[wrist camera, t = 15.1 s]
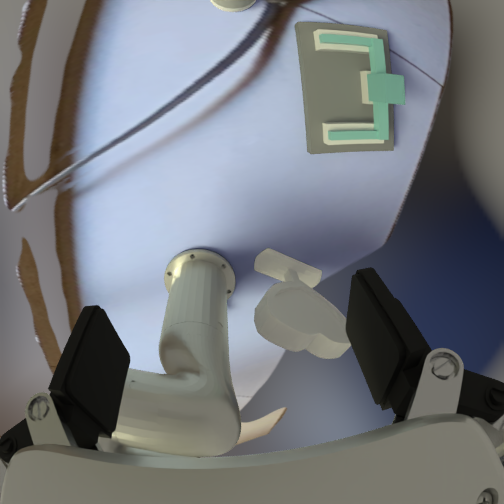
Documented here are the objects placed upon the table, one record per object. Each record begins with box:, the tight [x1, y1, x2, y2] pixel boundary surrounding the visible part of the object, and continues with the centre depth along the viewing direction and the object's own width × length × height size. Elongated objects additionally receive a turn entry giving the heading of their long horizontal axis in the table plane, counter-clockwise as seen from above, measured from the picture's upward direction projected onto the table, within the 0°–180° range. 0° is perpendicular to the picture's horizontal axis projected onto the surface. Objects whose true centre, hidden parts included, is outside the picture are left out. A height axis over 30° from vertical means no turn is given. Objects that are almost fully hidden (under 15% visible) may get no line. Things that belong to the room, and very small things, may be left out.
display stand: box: [295, 22, 394, 154], centre depth 34 cm, size 20×14×4 cm
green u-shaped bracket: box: [319, 34, 405, 141], centre depth 30 cm, size 15×10×5 cm, turn 6°
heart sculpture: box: [254, 248, 351, 359], centre depth 44 cm, size 16×5×18 cm, turn 62°
